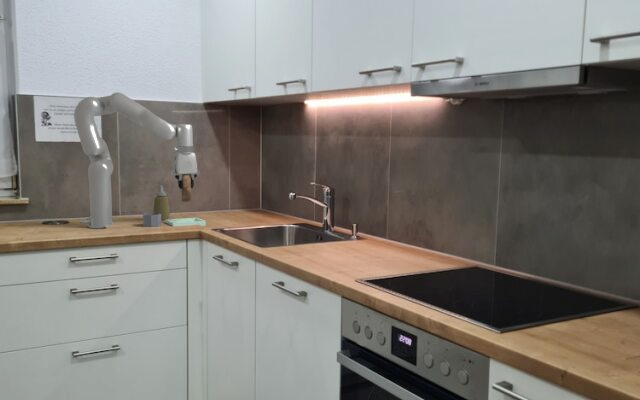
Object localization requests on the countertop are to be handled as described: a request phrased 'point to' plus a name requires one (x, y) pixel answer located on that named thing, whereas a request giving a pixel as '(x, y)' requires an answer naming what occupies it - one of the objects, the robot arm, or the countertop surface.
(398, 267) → the countertop surface
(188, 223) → the pale green tray
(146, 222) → the grey block
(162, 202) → the squeeze bottle
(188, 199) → the walnut pin
